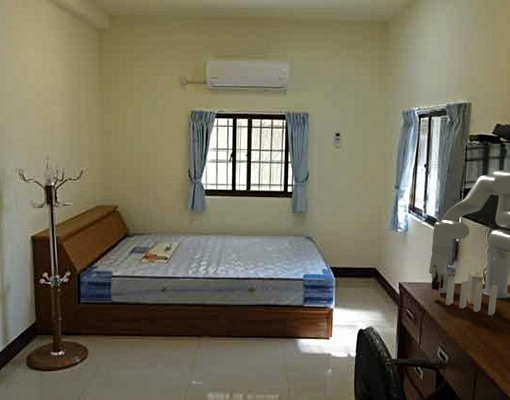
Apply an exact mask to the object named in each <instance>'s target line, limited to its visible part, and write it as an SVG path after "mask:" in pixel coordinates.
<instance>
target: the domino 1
mask: <svg viewBox="0 0 510 400" xmlns="http://www.w3.org/2000/svg"><path fill="white" fill-rule="evenodd" d="M436 274H437V275H438V273H436ZM436 277H438V276H436ZM441 278H442V274H441V275H440V277H439V282H440V283H439V290H433V291H432V300H434V301H438V299H440V298H441V293H440V289H441V288H440V287H441Z"/></svg>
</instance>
